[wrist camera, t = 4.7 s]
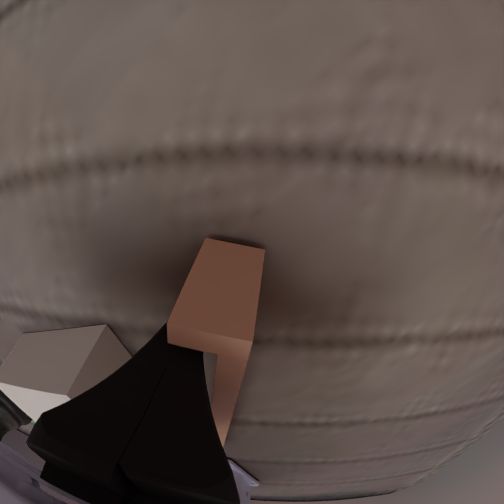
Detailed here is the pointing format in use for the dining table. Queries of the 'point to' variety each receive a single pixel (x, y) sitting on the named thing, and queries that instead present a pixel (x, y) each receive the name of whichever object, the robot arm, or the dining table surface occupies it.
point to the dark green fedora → (11, 415)
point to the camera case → (59, 366)
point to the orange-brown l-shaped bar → (220, 317)
